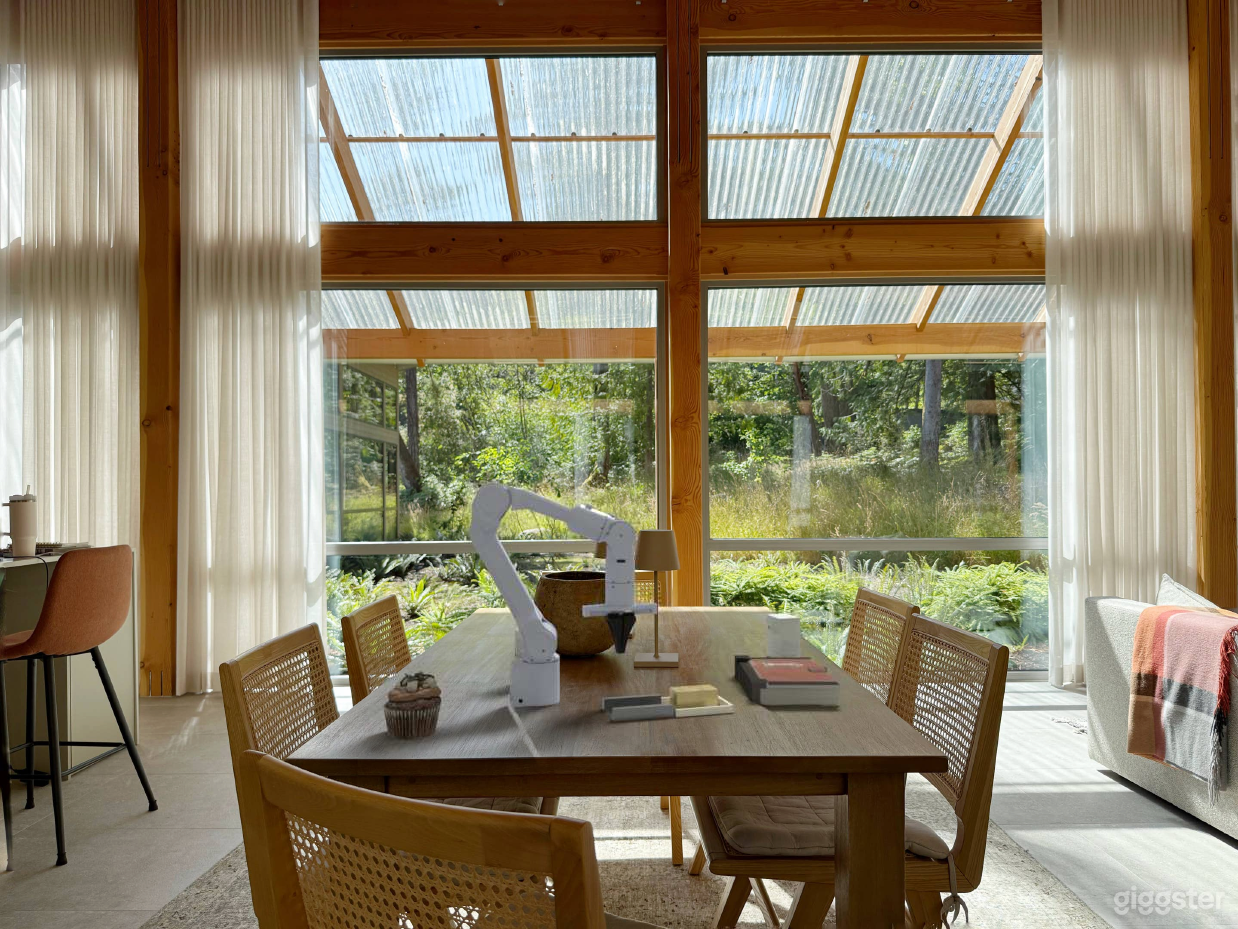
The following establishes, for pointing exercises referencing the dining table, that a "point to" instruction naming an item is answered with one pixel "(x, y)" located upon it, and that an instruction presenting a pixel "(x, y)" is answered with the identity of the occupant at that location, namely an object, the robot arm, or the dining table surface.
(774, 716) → the dining table surface
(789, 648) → the small box
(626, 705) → the rail
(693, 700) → the brass chip
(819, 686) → the book
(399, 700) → the cupcake
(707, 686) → the brass chip
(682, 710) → the tray
